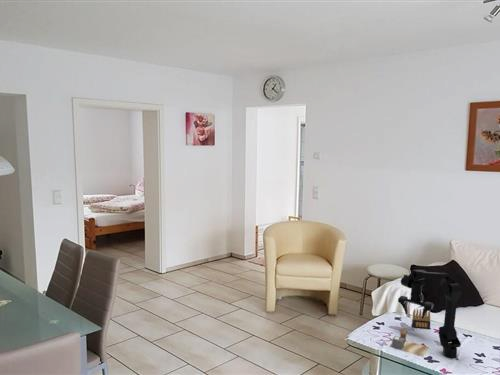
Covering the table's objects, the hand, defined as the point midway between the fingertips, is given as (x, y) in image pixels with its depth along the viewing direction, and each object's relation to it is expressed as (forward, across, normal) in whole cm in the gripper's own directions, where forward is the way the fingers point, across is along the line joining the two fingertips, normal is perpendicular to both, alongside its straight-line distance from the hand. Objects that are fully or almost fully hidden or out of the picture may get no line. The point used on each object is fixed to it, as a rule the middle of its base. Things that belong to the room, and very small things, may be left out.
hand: (414, 316), depth 242 cm
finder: (+11, +2, +22) cm, 25 cm away
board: (+12, -3, +18) cm, 22 cm away
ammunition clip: (+12, 0, -16) cm, 20 cm away
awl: (+11, +2, +14) cm, 18 cm away
